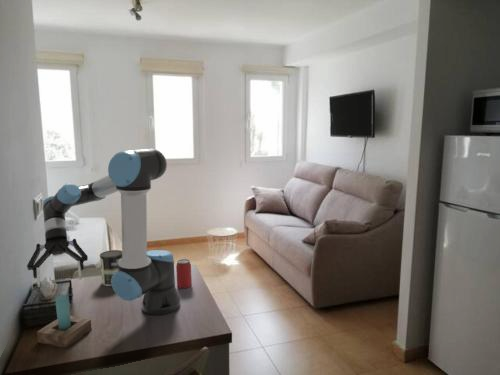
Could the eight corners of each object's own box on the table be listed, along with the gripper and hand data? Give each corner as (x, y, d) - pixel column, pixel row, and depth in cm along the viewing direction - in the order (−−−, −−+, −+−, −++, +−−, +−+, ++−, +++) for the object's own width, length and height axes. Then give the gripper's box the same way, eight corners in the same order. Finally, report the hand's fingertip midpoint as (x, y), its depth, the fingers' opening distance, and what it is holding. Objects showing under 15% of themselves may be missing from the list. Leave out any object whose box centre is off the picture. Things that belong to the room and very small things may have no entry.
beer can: (174, 286, 171) (173, 261, 169) (186, 281, 175) (185, 257, 173) (182, 290, 166) (181, 265, 164) (194, 286, 170) (193, 261, 169)
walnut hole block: (91, 329, 135) (90, 319, 134) (66, 348, 124) (65, 337, 123) (65, 324, 138) (64, 314, 138) (38, 342, 127) (36, 331, 127)
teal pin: (74, 332, 132) (70, 295, 130) (65, 338, 128) (61, 300, 126) (65, 330, 133) (61, 294, 131) (56, 336, 130) (52, 299, 127)
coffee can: (129, 280, 178) (127, 252, 176) (111, 288, 170) (109, 258, 167) (115, 275, 184) (113, 248, 181) (97, 283, 175) (94, 254, 173)
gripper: (89, 232, 155) (96, 279, 144) (20, 241, 144) (21, 293, 133) (89, 222, 149) (96, 270, 139) (17, 231, 138) (18, 284, 127)
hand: (60, 281), depth 136 cm, fingers open, 13 cm apart
